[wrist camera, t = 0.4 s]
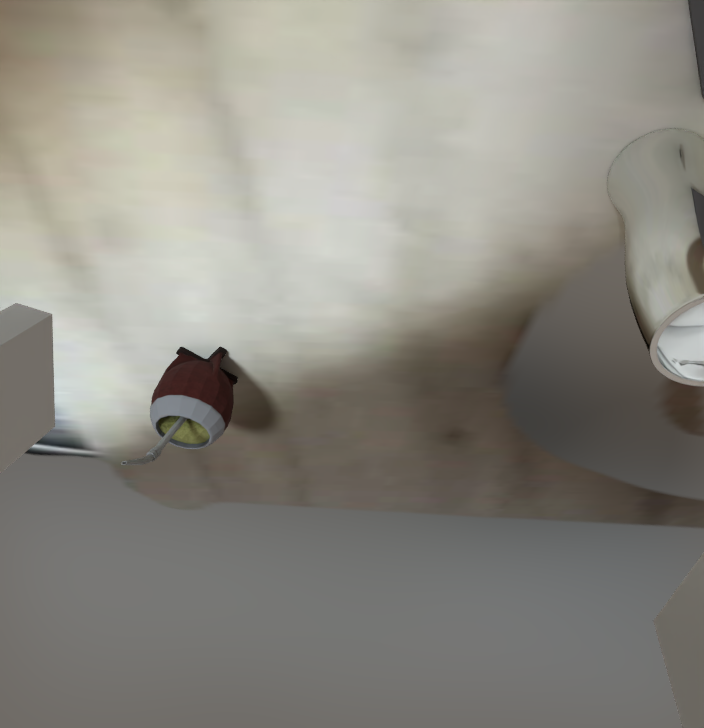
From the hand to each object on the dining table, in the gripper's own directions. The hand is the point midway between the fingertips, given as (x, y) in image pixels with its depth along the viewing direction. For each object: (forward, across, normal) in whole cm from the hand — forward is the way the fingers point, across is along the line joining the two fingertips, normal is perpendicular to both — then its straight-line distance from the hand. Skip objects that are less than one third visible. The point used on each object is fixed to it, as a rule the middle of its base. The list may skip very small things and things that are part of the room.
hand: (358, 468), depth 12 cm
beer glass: (+34, +12, +3) cm, 36 cm away
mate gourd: (+38, -17, -24) cm, 48 cm away
